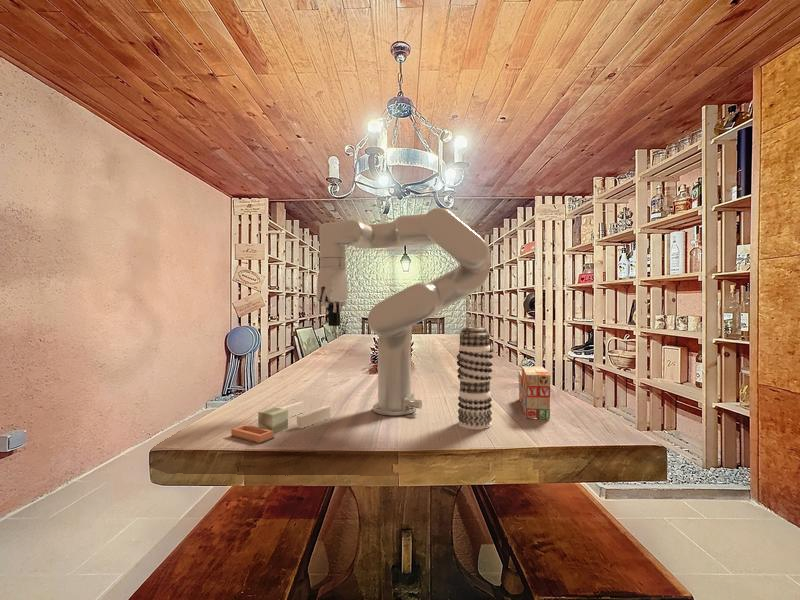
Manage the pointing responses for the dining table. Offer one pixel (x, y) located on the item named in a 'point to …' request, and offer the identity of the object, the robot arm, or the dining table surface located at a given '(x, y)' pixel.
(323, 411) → the walled channel
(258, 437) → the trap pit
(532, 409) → the stack of blocks
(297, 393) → the dining table surface
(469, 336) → the decorative candle
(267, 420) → the sage block
